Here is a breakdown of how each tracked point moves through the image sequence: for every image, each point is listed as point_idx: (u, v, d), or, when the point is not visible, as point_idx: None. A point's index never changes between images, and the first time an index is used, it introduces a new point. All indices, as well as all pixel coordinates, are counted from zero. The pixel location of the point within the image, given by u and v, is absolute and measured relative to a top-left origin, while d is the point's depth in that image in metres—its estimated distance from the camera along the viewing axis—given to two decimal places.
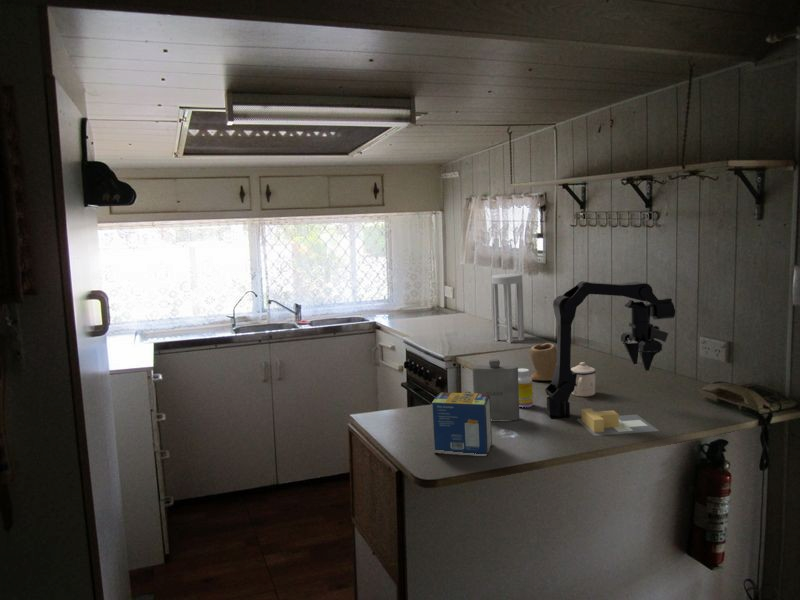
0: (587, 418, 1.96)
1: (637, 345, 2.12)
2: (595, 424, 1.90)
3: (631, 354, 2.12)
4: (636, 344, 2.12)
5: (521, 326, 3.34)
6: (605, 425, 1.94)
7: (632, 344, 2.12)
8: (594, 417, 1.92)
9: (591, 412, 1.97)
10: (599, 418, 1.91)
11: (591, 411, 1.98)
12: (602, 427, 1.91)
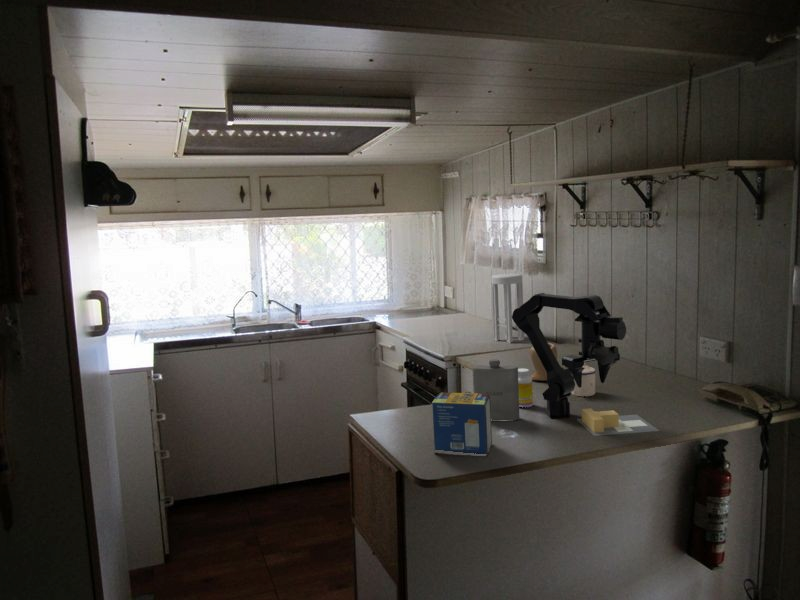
0: (587, 418, 1.96)
1: (605, 364, 1.98)
2: (595, 424, 1.90)
3: (599, 371, 2.01)
4: None
5: None
6: (605, 425, 1.94)
7: None
8: (594, 417, 1.92)
9: (591, 412, 1.97)
10: (599, 418, 1.91)
11: (591, 411, 1.98)
12: (602, 427, 1.91)
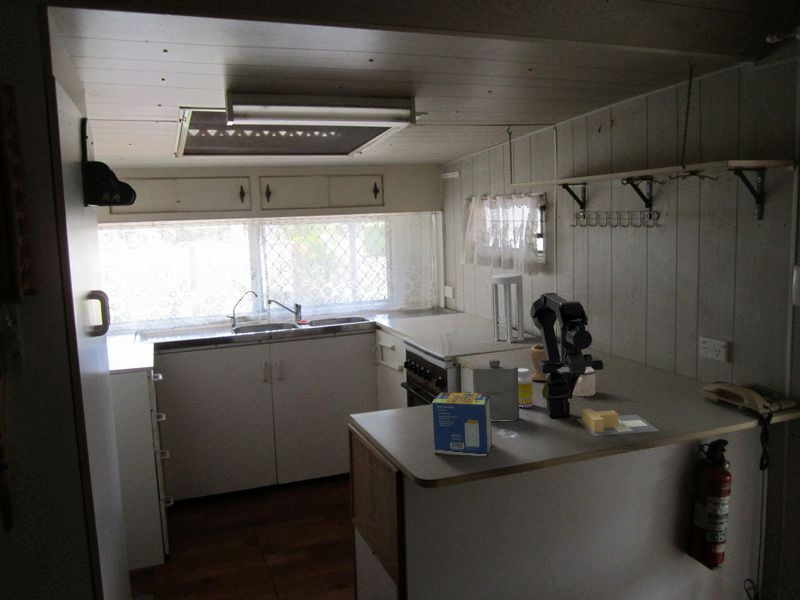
0: (587, 418, 1.96)
1: (573, 373, 1.93)
2: (595, 424, 1.90)
3: None
4: (573, 372, 1.93)
5: (521, 326, 3.34)
6: (605, 425, 1.94)
7: None
8: (594, 417, 1.92)
9: (591, 412, 1.97)
10: (599, 418, 1.91)
11: (591, 411, 1.98)
12: (602, 427, 1.91)
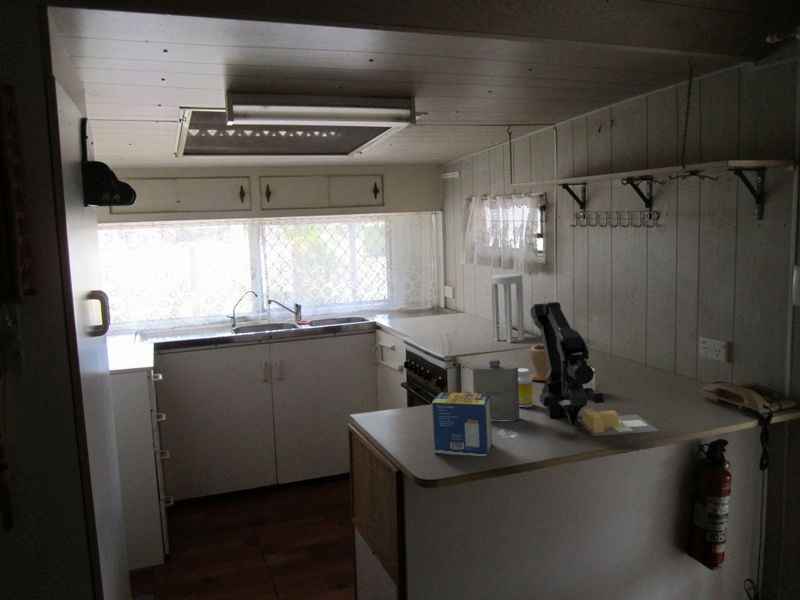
0: (587, 418, 1.96)
1: (575, 406, 1.94)
2: (595, 424, 1.90)
3: (571, 413, 1.97)
4: None
5: (521, 326, 3.34)
6: (605, 425, 1.94)
7: None
8: (594, 417, 1.92)
9: (591, 412, 1.97)
10: (599, 418, 1.91)
11: (591, 411, 1.98)
12: (602, 427, 1.91)
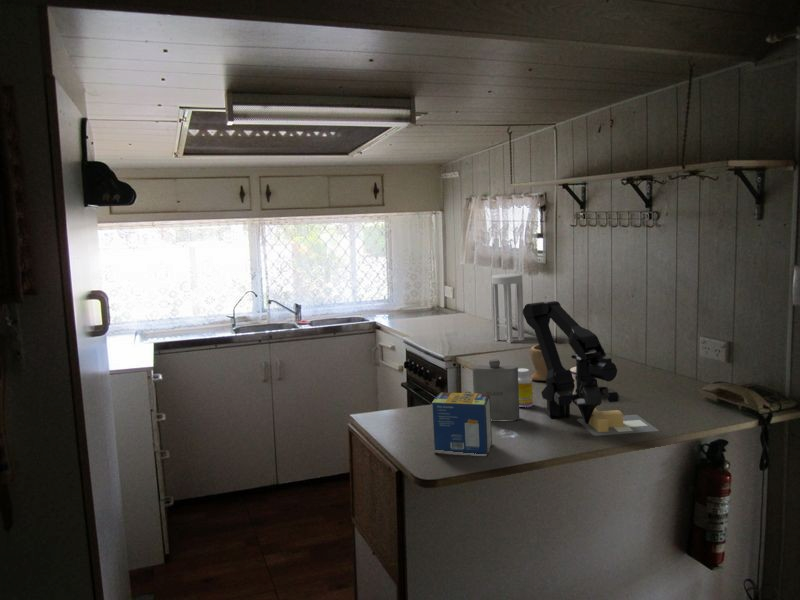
0: (591, 417, 1.96)
1: (589, 405, 1.94)
2: (599, 424, 1.90)
3: None
4: None
5: (521, 326, 3.34)
6: (610, 425, 1.94)
7: None
8: (598, 417, 1.92)
9: (595, 412, 1.97)
10: (603, 418, 1.91)
11: (596, 411, 1.98)
12: (606, 426, 1.91)
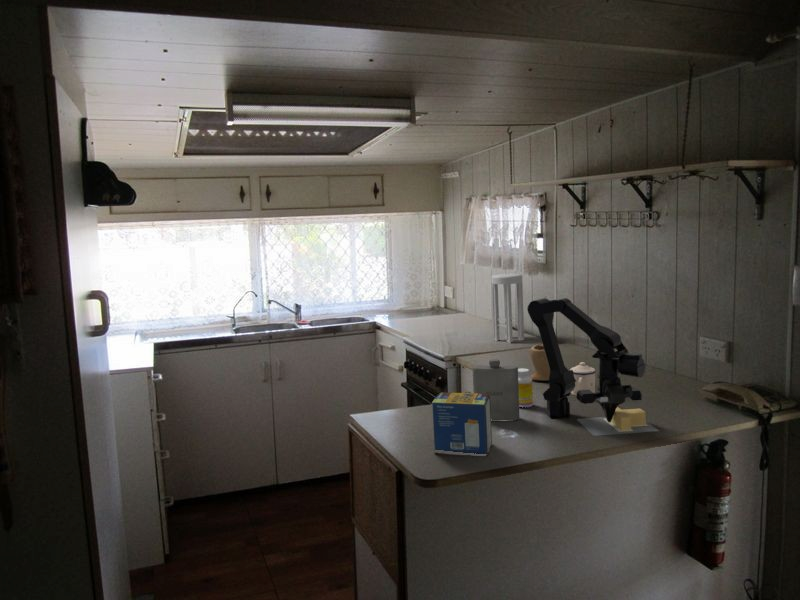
0: (613, 416, 1.97)
1: (612, 403, 1.94)
2: (622, 422, 1.91)
3: None
4: None
5: (521, 326, 3.34)
6: (632, 423, 1.95)
7: None
8: (621, 415, 1.93)
9: (618, 410, 1.98)
10: (626, 416, 1.92)
11: (617, 409, 1.99)
12: (629, 424, 1.91)
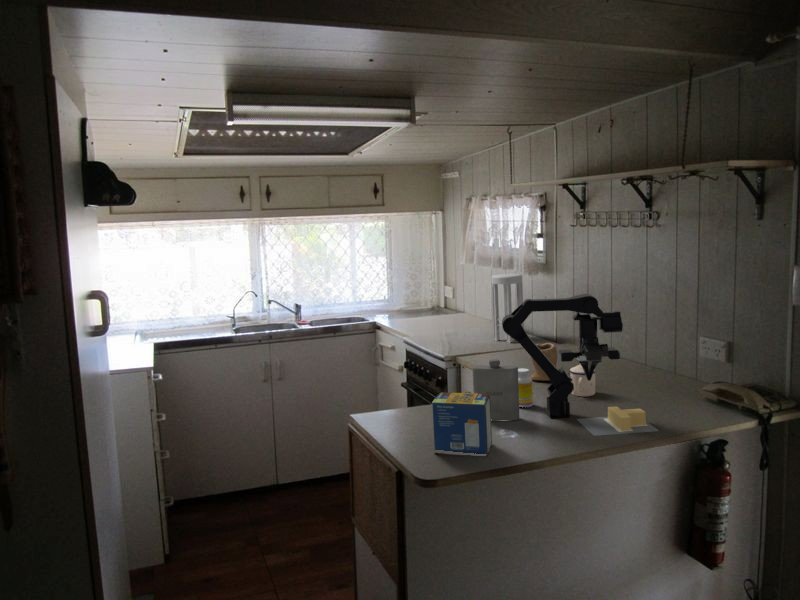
0: (613, 416, 1.97)
1: (591, 362, 2.04)
2: (622, 422, 1.91)
3: None
4: (591, 361, 2.04)
5: None
6: (632, 423, 1.95)
7: None
8: (621, 415, 1.93)
9: (618, 410, 1.98)
10: (626, 416, 1.92)
11: (617, 409, 1.99)
12: (629, 424, 1.91)
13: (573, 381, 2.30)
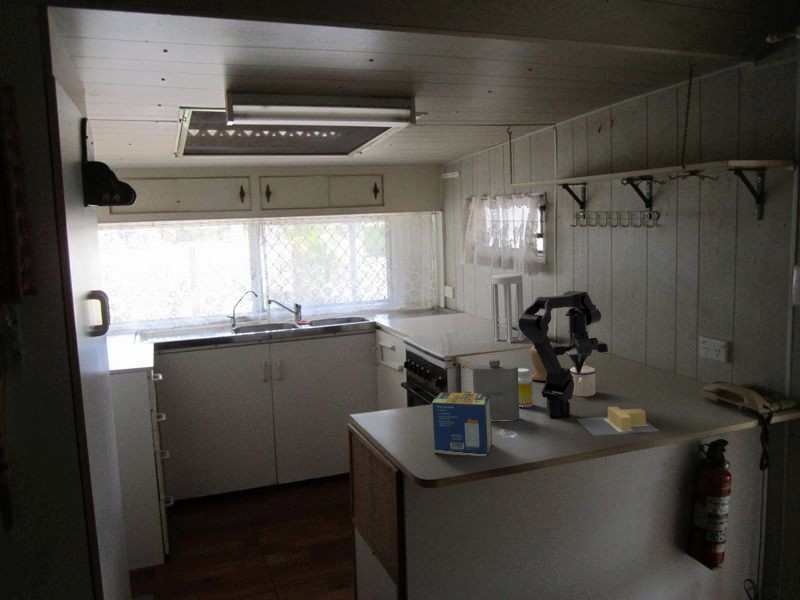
0: (613, 416, 1.97)
1: (581, 355, 2.14)
2: (622, 422, 1.91)
3: None
4: (580, 354, 2.14)
5: None
6: (632, 423, 1.95)
7: None
8: (621, 415, 1.93)
9: (618, 410, 1.98)
10: (626, 416, 1.92)
11: (617, 409, 1.99)
12: (629, 424, 1.91)
13: None
